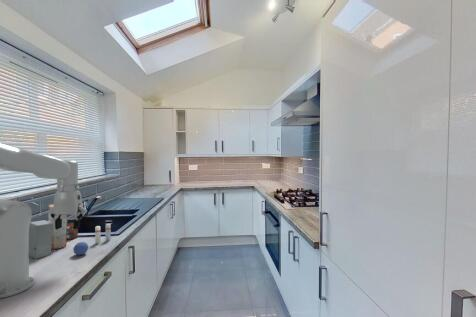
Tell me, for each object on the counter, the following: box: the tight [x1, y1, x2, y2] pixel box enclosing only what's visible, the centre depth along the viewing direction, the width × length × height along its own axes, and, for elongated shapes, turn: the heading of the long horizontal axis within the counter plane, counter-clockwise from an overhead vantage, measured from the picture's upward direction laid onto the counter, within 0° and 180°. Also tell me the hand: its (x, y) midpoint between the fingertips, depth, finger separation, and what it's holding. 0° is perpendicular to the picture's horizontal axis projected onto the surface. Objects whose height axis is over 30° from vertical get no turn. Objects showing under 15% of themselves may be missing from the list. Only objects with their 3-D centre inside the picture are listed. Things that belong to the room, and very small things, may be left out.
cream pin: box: [94, 225, 101, 245], centre depth 130 cm, size 2×2×9 cm
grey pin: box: [105, 223, 112, 242], centre depth 134 cm, size 2×2×9 cm
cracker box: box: [48, 203, 68, 250], centre depth 127 cm, size 14×6×21 cm, turn 46°
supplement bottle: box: [66, 217, 79, 241], centre depth 137 cm, size 6×6×11 cm
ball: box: [73, 241, 89, 256], centre depth 115 cm, size 6×6×6 cm
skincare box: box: [29, 219, 53, 260], centre depth 114 cm, size 8×7×16 cm
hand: (67, 228), depth 106 cm, fingers open, 7 cm apart
